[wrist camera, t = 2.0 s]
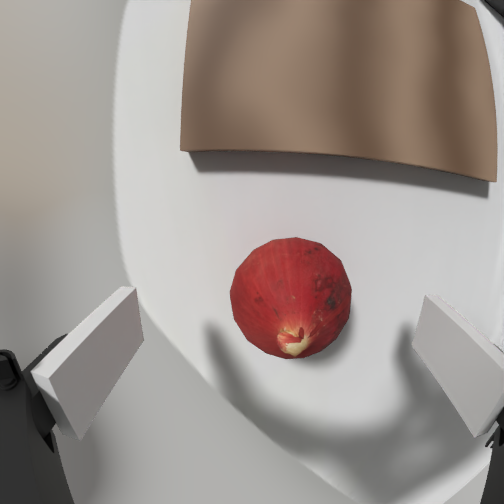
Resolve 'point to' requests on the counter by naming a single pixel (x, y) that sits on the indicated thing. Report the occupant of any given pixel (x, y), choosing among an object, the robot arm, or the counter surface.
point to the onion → (291, 297)
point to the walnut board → (341, 81)
